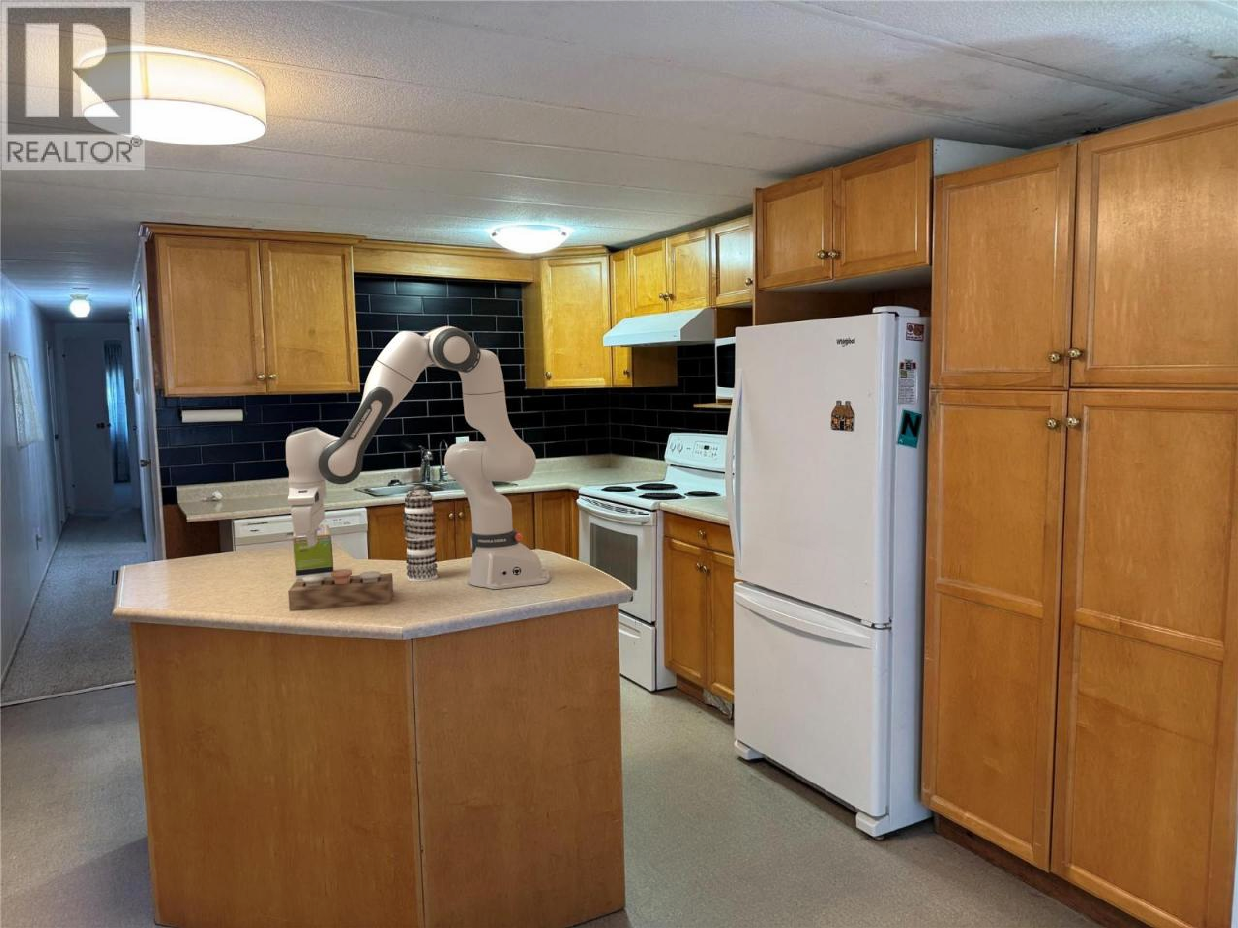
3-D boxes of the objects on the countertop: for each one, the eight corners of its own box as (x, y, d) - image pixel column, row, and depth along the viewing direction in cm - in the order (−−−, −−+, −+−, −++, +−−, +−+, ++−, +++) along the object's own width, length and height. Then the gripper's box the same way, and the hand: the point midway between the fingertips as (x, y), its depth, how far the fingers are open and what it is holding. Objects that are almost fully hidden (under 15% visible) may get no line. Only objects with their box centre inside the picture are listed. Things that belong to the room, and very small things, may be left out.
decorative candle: (402, 582, 233) (397, 493, 230) (410, 574, 242) (405, 489, 239) (435, 581, 233) (431, 493, 230) (441, 573, 242) (437, 488, 239)
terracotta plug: (354, 588, 218) (353, 568, 218) (351, 593, 213) (350, 573, 213) (333, 589, 217) (332, 569, 217) (330, 595, 212) (329, 574, 212)
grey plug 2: (382, 590, 220) (381, 570, 219) (380, 595, 215) (379, 575, 214) (361, 591, 219) (360, 572, 218) (359, 597, 214) (358, 576, 213)
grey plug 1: (326, 594, 217) (325, 574, 217) (323, 599, 212) (322, 579, 211) (305, 595, 216) (304, 575, 216) (302, 600, 211) (300, 580, 211)
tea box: (296, 576, 242) (293, 526, 241) (333, 573, 246) (329, 523, 244) (296, 589, 228) (292, 536, 227) (334, 585, 232) (331, 532, 230)
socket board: (393, 591, 224) (392, 573, 223) (389, 603, 212) (388, 584, 211) (299, 597, 219) (297, 579, 219) (289, 610, 208) (288, 590, 207)
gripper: (303, 485, 221) (308, 536, 223) (285, 500, 201) (290, 555, 203) (328, 484, 222) (332, 535, 224) (312, 498, 202) (317, 554, 204)
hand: (312, 545), depth 214 cm, fingers closed
